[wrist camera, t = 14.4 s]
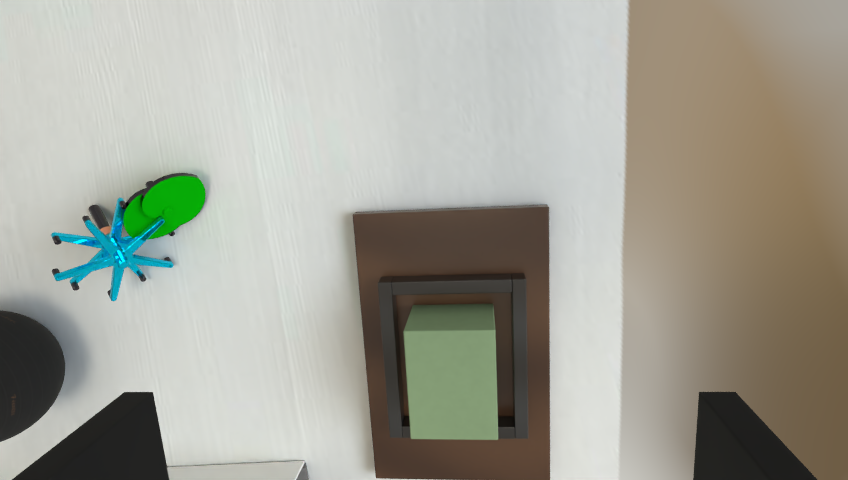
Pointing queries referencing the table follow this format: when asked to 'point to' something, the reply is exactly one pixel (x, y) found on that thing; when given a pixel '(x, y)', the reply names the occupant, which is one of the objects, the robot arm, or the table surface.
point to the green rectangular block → (452, 372)
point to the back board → (458, 284)
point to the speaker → (27, 372)
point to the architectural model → (242, 471)
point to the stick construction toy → (135, 228)
